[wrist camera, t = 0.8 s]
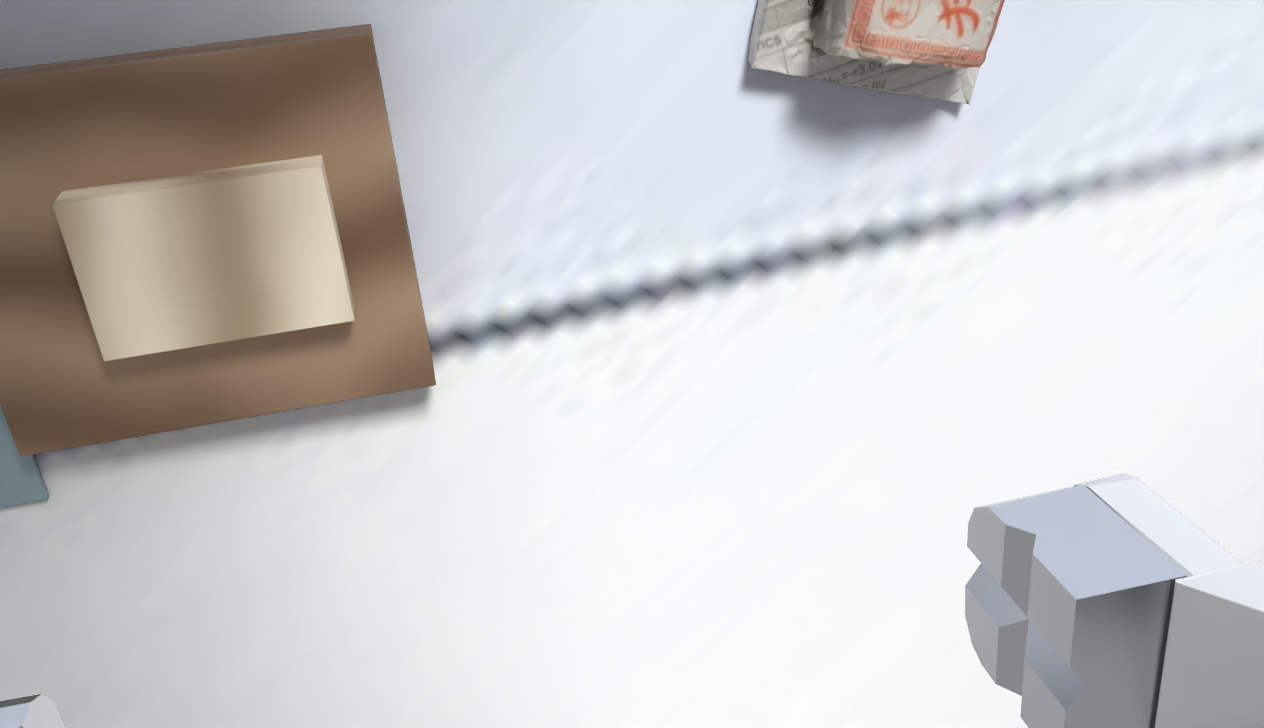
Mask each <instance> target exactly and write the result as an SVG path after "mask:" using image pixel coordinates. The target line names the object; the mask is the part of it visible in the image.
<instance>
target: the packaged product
mask: <svg viewBox="0 0 1264 728" xmlns="http://www.w3.org/2000/svg"><path fill="white" fill-rule="evenodd" d="M1003 3H1004V0H758V5H757V10H756V14H755V19H754V24H753V29H752V34H751V39H750V45H749V53H748V61H749V63H750V65H751V67H752V68H754V69H759V70H765V71H770V72H776V73H781V74H787V75H793V76H799V77H805V78H812V79H818V80H824V81H830V82H836V83H841V84H846V85H851V86H856V87H862V88H868V89H874V90H880V91H887V92H893V93H900V94H906V95H913V96H919V97H926V98H933V99H940V100H946V101H953V102H959V103H965V104H969V105H970V101H971V96H972V92H973V88H974V85H975V82H976V79H977V75H978V72H979V69H980V66H981V65H982V63H983V62H984V61H985V58H986V53H987V50H988V47H989V45H990V43H991V40H992V38H993V36H994V33H995V30H996V27H997V23H998V19H999V16H1000V13H1001V10H1002V6H1003Z"/></svg>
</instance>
